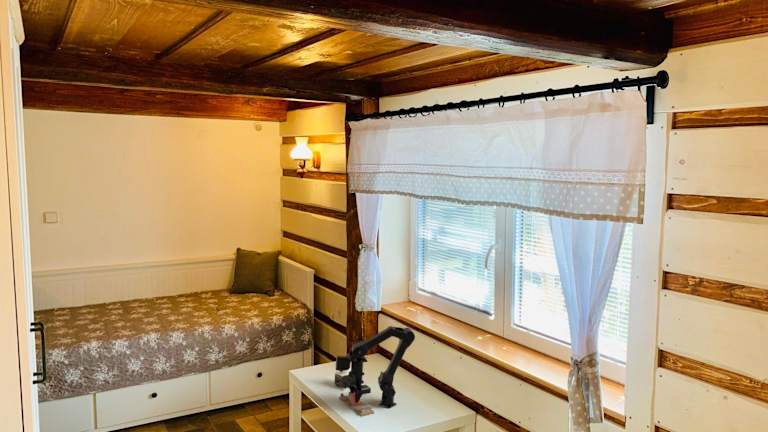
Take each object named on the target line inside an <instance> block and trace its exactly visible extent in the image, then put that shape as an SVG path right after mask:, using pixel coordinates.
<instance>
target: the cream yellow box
mask: <svg viewBox="0 0 768 432" xmlns="http://www.w3.org/2000/svg"><path fill="white" fill-rule="evenodd" d="M349 371H351V364H350V368H349V370H338V371H336V372H335V373H334V386H335V388H338V389H341V390H343V391H344V390H348V389H349V388H348V387H347V388H346V389H344V388H343V387H341V385H340V382H339V380H340V379H341V378H342V377H343V376H344V375H348V374H349Z"/></svg>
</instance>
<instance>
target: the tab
mask: <svg viewBox="0 0 768 432" xmlns="http://www.w3.org/2000/svg"><path fill="white" fill-rule="evenodd" d="M344 397H346V398H347V399H348V400H349V401H350V403H351V404H353V405H354V404H359V403H360V401H361V399H360V400H359V402H358V403H356V401H355V393H351V394H350V396H349V394H346V396H345V395H344Z"/></svg>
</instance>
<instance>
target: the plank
mask: <svg viewBox="0 0 768 432" xmlns="http://www.w3.org/2000/svg"><path fill="white" fill-rule="evenodd" d="M350 394H351V392H350V391H348V395H349V396H350ZM346 395H347V394H346ZM346 395H344V393H341V392H340V396H338V399H339V400H340V401H342V402H343V404H345V405H346V406H347V407H349V409H351V410H353V412H355V413H356V414H357V415H358V416H360V417H365V416H370V414H371V415H374V414H375V411H374V410H373V409H372V405H371V404H368V405H367V404H365V403H364V402H362V400H360V403H359V404H354V405H353V404H351V403H350V401H349V400H348V399H347V398H346V397H344V396H346Z"/></svg>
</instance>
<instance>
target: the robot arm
mask: <svg viewBox="0 0 768 432" xmlns="http://www.w3.org/2000/svg"><path fill="white" fill-rule="evenodd" d="M392 337H393V338H397V339H399V340H398V345H397V347H396V349H395V350H394V354H393V355H392V357H391V360H390V361H389V364H388V366H387V368H386V369H385V371H384V372H383V371H380V373H379V376H378V377H377V383H378V387H379V390H381V392H382V394H381V402H379V403H378V406H381V407H384V408H388V409H391V408H392V407H394V406H396V405H397V403H396V402H394V401H395V396H396V393H397V391H396V390H395V387H394V385H393V383H394V377H395V374H396V373H397V372H396V371H397V370H398V367H399V365H400V364H401V361H402V359H403V357H404V355H405V354H406V353H405V352H406V351H407V349H408V348H409V347H411V345H412V344H413V343H414V341H415V339H416V335H415V333H414V331H413V330H412V329H411V327H410V328H409V327H404V328H403V327H400V326H399V327H398V326H393V325H389V326H388V327H386V328H385V329H383V330H381V331H379V332H378V333H377V334H375V335H373V336H371V337H370V338H368V339H366V340H361V341H357V342H356V343H354V344H352V346H351V349H350V351H348V353H347V354H346V355H337V356H336V360H335V371H339V370H349V368H350V365H351V369H350V371H349V374H348V375H344V376H343V377H342V378H341V379H340V380H339V382H340V385H341V387H343V388H344V390H347V389H349V392H351V393H355V401H356V403H358V402H359V400H360V401H361V398H362V396H363V395H367V394H371V392H372V388H371V387H370V386H368V385H367V384H364V383H365V381H364V380H363V376H365V372H364V363H367V362H368V359H367V357H366V355H367V354H368V352H369V351H370V350H372V349H373V348H374V347H377V346H378V345H380V344H382V343H383V342H385V341H386V340H388V339H390V338H392ZM347 387H348V388H347ZM346 388H347V389H346Z"/></svg>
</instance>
